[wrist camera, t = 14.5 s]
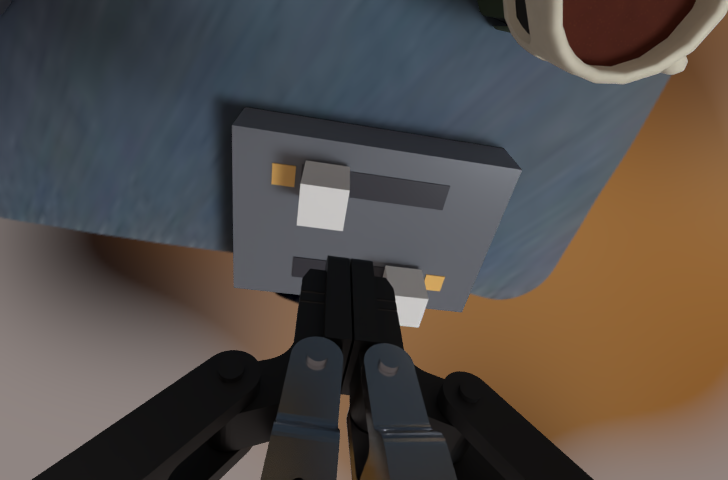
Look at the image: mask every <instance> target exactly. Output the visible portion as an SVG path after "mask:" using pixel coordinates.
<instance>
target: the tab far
mask: <svg viewBox="0 0 728 480" xmlns="http://www.w3.org/2000/svg"><path fill="white" fill-rule="evenodd" d="M383 277H384V278H387V280H388V281H389V283H390V284H391V286H392V287H393V288H394V293H395V299H396V301H395V303H396V305H397V313H398V318H399V324H400V326H409V327H419V325H420V322H421V320H422V316H423V314H424V311H425V308H426V305H427V302H428V300H429V299H428V295H427V290H426V286H425V282H424V277H423V273H422V270H419V269H411V268H402V267H394V266H385V270H384V274H383Z"/></svg>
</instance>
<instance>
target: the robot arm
mask: <svg viewBox="0 0 728 480" xmlns="http://www.w3.org/2000/svg"><path fill="white" fill-rule="evenodd" d="M11 2H12V0H0V15H2V14H3V13H4V12H5V11H6V9H7V8H8V6H9V5H10V3H11ZM395 301H396V299H395V293H394V288H393V287H392V286H391V284H390V283H389V281H388V280H387V278H384V277H376V276H374V268H373V261H369V260H362V259H354V258H351V259H349V258H345V257H338V256H330V255H328V256H327V260H326V266H325V270H318V269H309V271H308V272H307V273H306V274H305V276H304V277H303V278H302V285H301V292H300V299H299V306H298V313H297V321H296V329H295V337H294V343H293V345H292V346H291V348H290V349H289V350H288V351H286V352H285V353H284V354H282V355H280V356H278V357H275V358H272V359H268V360H262V361H257V360H256V359H255V358H254V357H253V356H252V355H250V354H248V353H246V352H243V351H237V350H230V351H224V352H221V353H219V354H216V355H215V356H213V357H211V358H210V359H208V360H207V361H205V362H204V363H203V364H201V365H200V366H198V367H197V368H195V369H194V370H192V371H191V372H189V373H188V374H186V375H185V376H183V377H182V378H180V379H179V380H177V381H176V382H175V383H173V384H172V385H170V386H169V387H167V388H166V389H164V390H163V391H161V392H160V393H159V394H157V395H155V396H154V397H152V398H151V399H150V400H148V401H147V402H145V403H144V404H142V405H141V406H139V407H138V408H136V409H135V410H133V411H132V412H131V413H129V414H128V415H126V416H125V417H123V418H122V419H120V420H119V421H117V422H116V423H114V424H113V425H111V426H110V427H109V428H107V429H105V430H104V431H102V432H101V433H100V434H98V435H97V436H95V437H94V438H92V439H91V440H89V441H88V442H86V443H85V444H83V445H82V446H80V447H79V448H78V449H76V450H75V451H73V452H72V453H70V454H69V455H67V456H66V457H64V458H63V459H61V460H60V461H58V462H57V463H55V464H54V465H53V466H51V467H50V468H48V469H47V470H46V471H44V472H42V473H41V474H39V475H38V476H36V477H35V478H33V479H32V480H219V479H221V478H222V476H224V475H225V474H226V473H227V472H228V471H229V470H230V469H231V468H232V467H233V466H234V465H235V464H236V463H237V462H238V461H239V460H240V459H241V458H242V457H243V456H244V455H245V454H246V453H247V452H248V451H249V450H250V449H251V447H252V446H254V445H258V444H261V443H265V442H269V445H268V450H267V454H266V458H265V462H264V467H263V471H262V476H261V480H336V478H337V465H338V453H339V439H340V430H339V429H338V417H339V404H340V394H345V395H350V407H349V411H348V414H347V431H348V442H349V454H350V465H351V475H352V480H593V479H592V478H591V477H590V476H589V475H588V474H587V473H586V472H584V471H583V470H582V469H581V468H580V467H579V466H578V465H577V464H575V463H574V462H573V461H572V460H571V459H570V458H569V457H568V456H566V455H565V454H564V453H563V452H562V451H561V450H560V449H559V448H557V447H556V446H555V445H554V444H553V443H552V442H551V441H550V440H548V439H547V438H546V437H545V436H544V435H543V434H542V433H541V432H540V431H538V430H537V429H536V428H535V427H534V426H533V425H532V424H531V423H530V422H528V421H527V420H526V419H525V418H524V417H523V416H522V415H521V414H519V413H518V412H517V411H516V410H515V409H514V408H513V407H512V406H510V405H509V404H508V403H507V402H506V401H505V400H504V399H503V398H502V397H500V396H499V395H498V394H497V393H496V392H495V391H494V390H493V389H491V388H490V387H489V386H488V385H487V384H486V383H485V382H484V381H482V380H481V379H480V378H478V377H477V376H475V375H473V374H470V373H467V372H460V371H459V372H453V373H451V374H449V375H448V376H447V377H446V378H445V379H443V378H440V377H437V376H435V375H432V374H430V373H427V372H424V371H423V370H421V369H419V368H418V367H416V366H415V365H414V364H413V362H412V359H411V357H410V356H409V355H408V354H407V353H406V352H405V351H404V348H403V342H402V336H401V330H400V324H399V318H398V313H397V305H396V303H395Z"/></svg>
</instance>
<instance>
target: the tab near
mask: <svg viewBox="0 0 728 480" xmlns="http://www.w3.org/2000/svg"><path fill="white" fill-rule="evenodd" d="M349 192H350V167H347V166H341V165H334V164H327V163H320V162H313V161H307V160H306V162H305V166H304V170H303V175H302V179H301V183H300V194H299V205H298V216H297V225H298V226H306V227H313V228H321V229H329V230H337V231H343V227H344V221H345V216H346V210H347V204H348V198H349Z"/></svg>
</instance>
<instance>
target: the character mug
mask: <svg viewBox="0 0 728 480" xmlns="http://www.w3.org/2000/svg"><path fill="white" fill-rule="evenodd" d="M477 2H478V6H479V10H480V12H481V14H482V15H483V16H488V17H494V18H496V19H498V20H500V21H502V22H504V23H506V24H507V25H508V26H494V28H495V29H497V30H501V31H506V32H510V33H511V34H512V36H513V37H514V39H515V40H516V41H517V43H518V44H519V45H520V46H521V47H523V48H524V49H525V50H526V51H527V52H529V53H531V54H532V55H534V56H536V57H538V58H539V59H541V60H544V61H548V62H550V63H551V64H553V65H555V66H557V67H559V68H561V69H563V70H565V71H566V72H568V73H570V74H573V75H577V76H579V77H581V78H584V79H586V80H588V81H591V82H593V83H606V84H626V83H630V82H633V81H636V80H639V79H642V78H646V77H649V76H652V75H655V74H658V73H660V72H661V73H664V74H668V75H673V74H676V73H679V72H681V71H684V69H685V67H686V65H687V62H688V60H687V58H686V55H688V54H689V53H691V52H692V51H694V50H695V48H697V46H698V45H699V44H700V43H701V42H702V41H703V40H704V39H705V37H706V36H707V35H708V34H709V33H710V32H711V31H712V30H713V28H714V27H715V26H716V25H717V24H718V23H719V22H720V21H721V20H722V18H723V17H724V16H725V15H726V13H727V10H728V0H477Z"/></svg>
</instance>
